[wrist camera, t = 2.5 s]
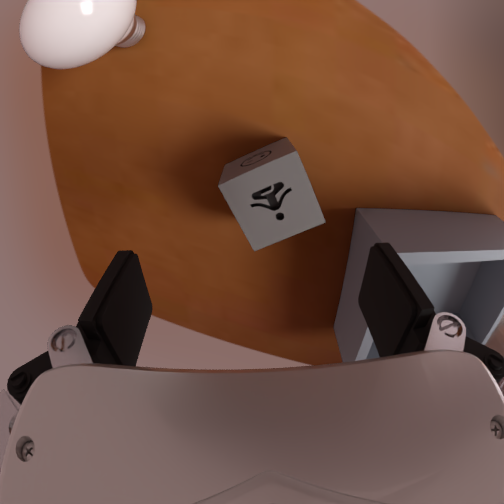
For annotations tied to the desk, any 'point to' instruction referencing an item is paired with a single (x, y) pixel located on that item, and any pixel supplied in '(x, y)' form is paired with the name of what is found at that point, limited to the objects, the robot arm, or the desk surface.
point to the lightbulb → (77, 30)
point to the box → (428, 269)
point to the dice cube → (270, 194)
